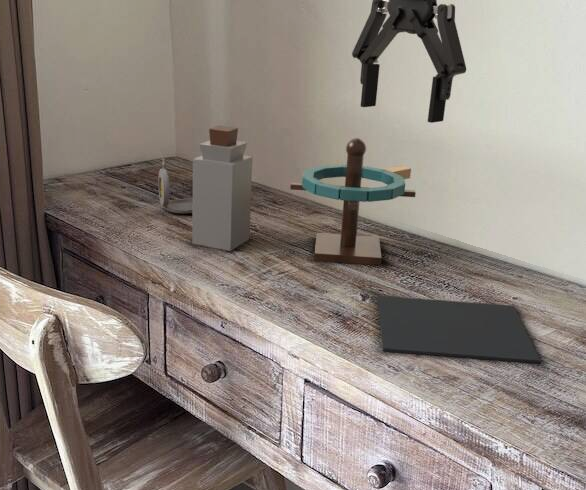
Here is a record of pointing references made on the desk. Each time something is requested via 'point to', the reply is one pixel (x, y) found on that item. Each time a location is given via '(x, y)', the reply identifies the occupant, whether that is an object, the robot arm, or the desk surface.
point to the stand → (350, 220)
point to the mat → (454, 329)
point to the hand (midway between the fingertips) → (400, 113)
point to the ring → (388, 176)
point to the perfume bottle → (222, 191)
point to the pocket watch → (164, 194)
